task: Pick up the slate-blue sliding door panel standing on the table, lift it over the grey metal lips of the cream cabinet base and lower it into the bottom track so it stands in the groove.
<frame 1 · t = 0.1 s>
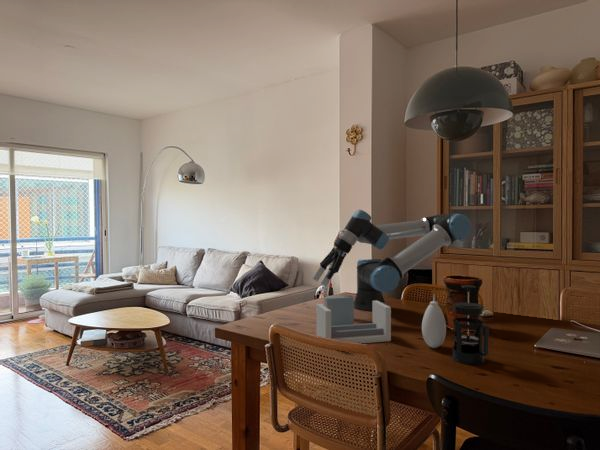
hand: (318, 282, 186), 15 cm above the table, tool tilted 35°, fingers open, 13 cm apart
vessel: (462, 327, 170), on the table
white air blower bulb: (433, 347, 146), on the table
door track: (352, 338, 156), on the table
sliding door panel: (339, 327, 172), on the table
french press: (469, 360, 133), on the table
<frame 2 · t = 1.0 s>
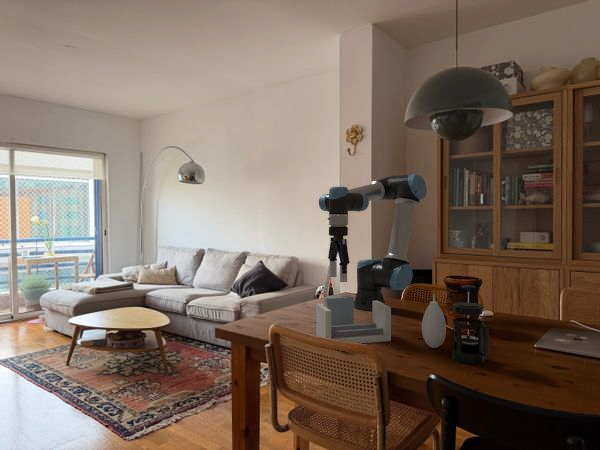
hand: (338, 279, 171), 19 cm above the table, tool pointing down, fingers open, 13 cm apart
nothing on the table moved.
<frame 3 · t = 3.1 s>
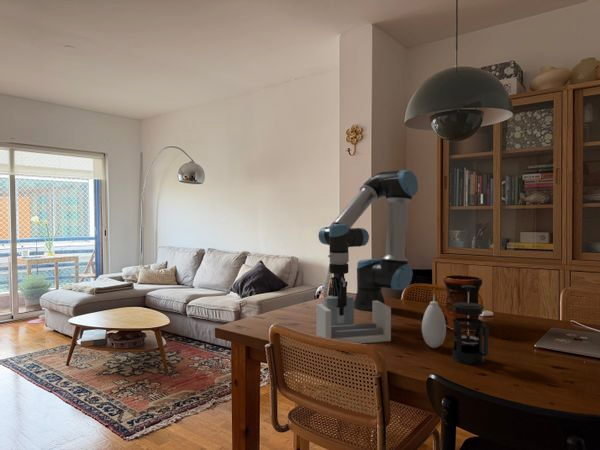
hand: (339, 321, 172), 2 cm above the table, tool pointing down, fingers closed on sliding door panel, 3 cm apart
sliding door panel: (339, 327, 172), on the table, touching gripper
everything else where it was.
when the fingers open (6 cm above the table, at t = 8.3 s): sliding door panel drops 1 cm, resting on door track.
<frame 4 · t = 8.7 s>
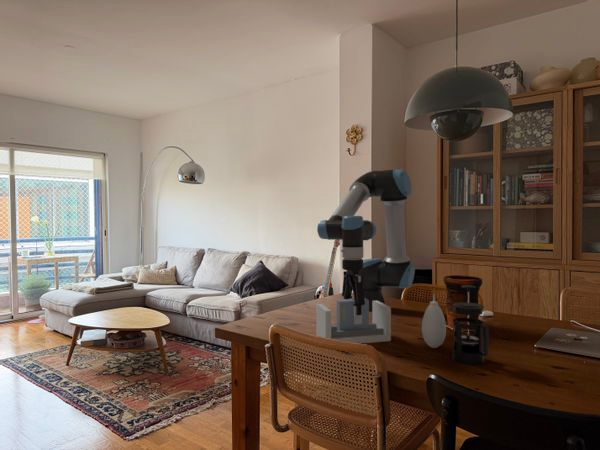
hand: (352, 320, 156), 7 cm above the table, tool pointing down, fingers open, 10 cm apart
sliding door panel: (352, 333, 156), point 2 cm above the table, touching door track
everything else where it was.
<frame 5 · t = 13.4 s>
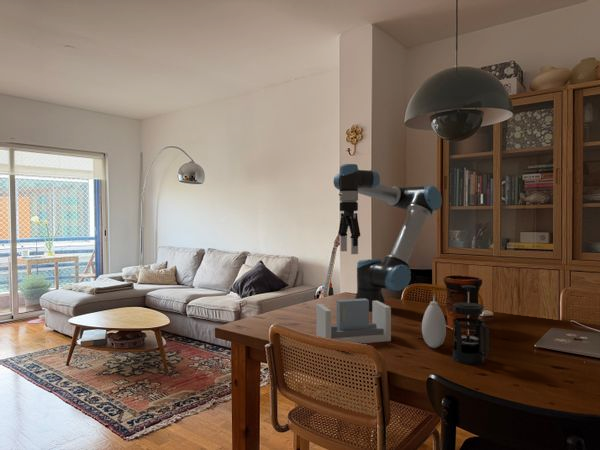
hand: (348, 252, 180), 29 cm above the table, tool pointing down, fingers open, 13 cm apart
nothing on the table moved.
at the end: sliding door panel 0.0 cm off-centre on the door track, point 2.0 cm above the door track's base; sliding door panel tilted 0°; the gripper is holding nothing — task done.
